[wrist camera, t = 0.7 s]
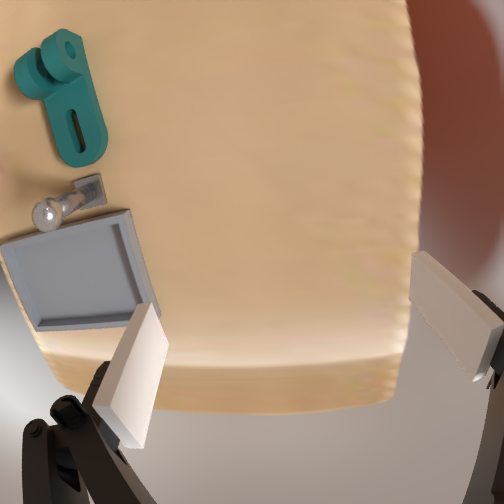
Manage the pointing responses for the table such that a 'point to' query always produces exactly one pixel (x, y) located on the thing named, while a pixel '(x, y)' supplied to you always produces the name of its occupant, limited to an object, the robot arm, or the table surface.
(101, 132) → the bracket
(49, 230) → the ball stud
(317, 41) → the table surface
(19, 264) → the bin
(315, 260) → the table surface
